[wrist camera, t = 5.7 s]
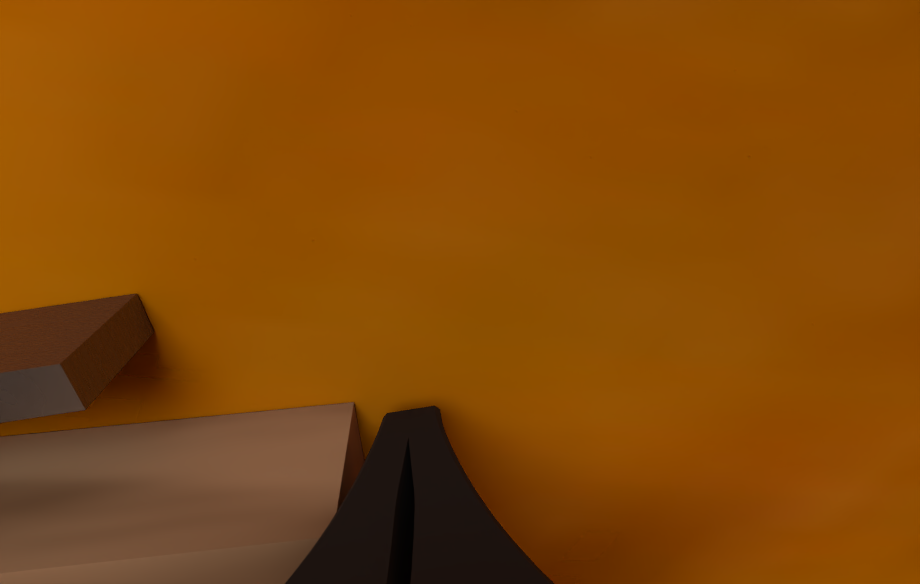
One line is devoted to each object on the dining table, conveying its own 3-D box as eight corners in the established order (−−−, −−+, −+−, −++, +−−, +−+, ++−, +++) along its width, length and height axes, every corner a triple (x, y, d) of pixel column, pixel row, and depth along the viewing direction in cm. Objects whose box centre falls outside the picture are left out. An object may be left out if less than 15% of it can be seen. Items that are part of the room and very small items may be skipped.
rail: (373, 513, 15) (362, 662, 11) (13, 552, 14) (-119, 722, 11) (353, 402, 13) (332, 536, 10) (-58, 442, 13) (-242, 600, 9)
